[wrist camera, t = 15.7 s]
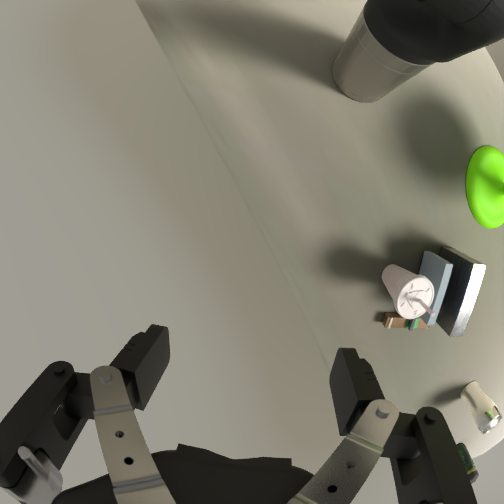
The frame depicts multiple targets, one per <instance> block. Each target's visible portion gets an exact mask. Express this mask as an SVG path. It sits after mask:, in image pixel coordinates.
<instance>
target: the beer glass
mask: <svg viewBox="0 0 504 504" xmlns="http://www.w3.org/2000/svg"><path fill="white" fill-rule="evenodd" d="M460 397H461V398H462V399H463V400H464V401H465V402H466V403H467V405H468V407H469V410H470V413H471V416H472V418H473V420H474V422H475V424H476V426H477V427H478V428H479V430H480V431H481V433H482V434H485V433H487V432H489V431H490V430H492V429H493V428H494V427H495V426H496V425H497V424H498V423H499V421H500V420H501V418H502V414H501V413H500V411H499V409H498V407H497V406H496V404H495V403H494V402H493V401H492V400H491V399H490V398H489V397H488V396H487V395H486V394H485V393H483V391H482V390H481V389H480V387H479V385H478V382H477V381H473V382H471V383H469V384H468V385H467V386H466V387H465V388H464V389H463V390H462V392H461V395H460Z"/></svg>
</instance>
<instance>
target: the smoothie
mask: <svg viewBox="0 0 504 504" xmlns="http://www.w3.org/2000/svg"><path fill="white" fill-rule="evenodd" d="M382 281H383V283H384V284H385V286H386V288H387V290H388V292H389V293H390V295H391V297H392V299H393V301H394V306H395V309H396V311H397V312H398V313H399V314H400V315H401V316H402V317H403V318H406V319H414V318H417V317H419V316H421V315H423V314H424V313H425V312H426V311H427V312H428V313H429V314H430V315H431V316H432V317H433V316H434V315H435V313H434V312H433V311H432V310H431V309H430V308H429V307H430V305H431V304H432V301H433V298H434V287H433V284H432V283H431V281H430V280H428V278H426V277H425V276H423V275H416V274H414V273H412V272H410V271H408V270H406V269H404V268H401V267H399V266H397V265H395V264H391V265H388V266H387V267H386V268H385V269H384V270H383V272H382Z"/></svg>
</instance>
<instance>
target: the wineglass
mask: <svg viewBox="0 0 504 504" xmlns="http://www.w3.org/2000/svg"><path fill="white" fill-rule="evenodd" d="M466 193H467V199H468V203H469V207H470V210H471V212H472V214H473V216H474V218H475V219H476V220H477V222H478V223H479V224H480V225H482V226H483V227H485V228H490V229H492V228H496V227H499V226H500V225H502V224H503V223H504V155H503V154H502V153H501V152H500V151H499V150H498V149H496V148H494V147H492V146H483V147H481V148H479V149H478V150H477V151H476V152H475V153H474V154H473V156H472V158H471V160H470V162H469V165H468V169H467V174H466Z"/></svg>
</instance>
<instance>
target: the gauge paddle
mask: <svg viewBox="0 0 504 504" xmlns="http://www.w3.org/2000/svg"><path fill="white" fill-rule="evenodd" d="M452 267H453V264H452V263H450V262H448V261H446V260H445V259H443V258H441V257H440V256H438V255H436V254H435V253H433V252H430V251H424V255H423V259H422V263H421V268H420V271H419V275H423V276H425V277H426V278H428V280H430V281H431V283H432V284H433V287H434V298H433V301H432V304H431V305H430V307H429V308H430V309H431V310H432V311H433V312H434V313H435V315H434V316H433V317H432V316H431V315H430V314H429V313H428V312H427V311H426V312H425V313H424V314H423V315H421V316H419V317H420V318H421V319H422V320H423V321H424V322H425V323H426V325H434V324H435V321H436V319H437V316H438V313H439V310H440V307H441V304H442V301H443V298H444V295H445V292H446V289H447V285H448V282H449V278H450V275H451V271H452ZM415 321H416V318H414V319H411V322H410V325H409V327H408V329H409V330H412V329H413V326H414V323H415Z"/></svg>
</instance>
